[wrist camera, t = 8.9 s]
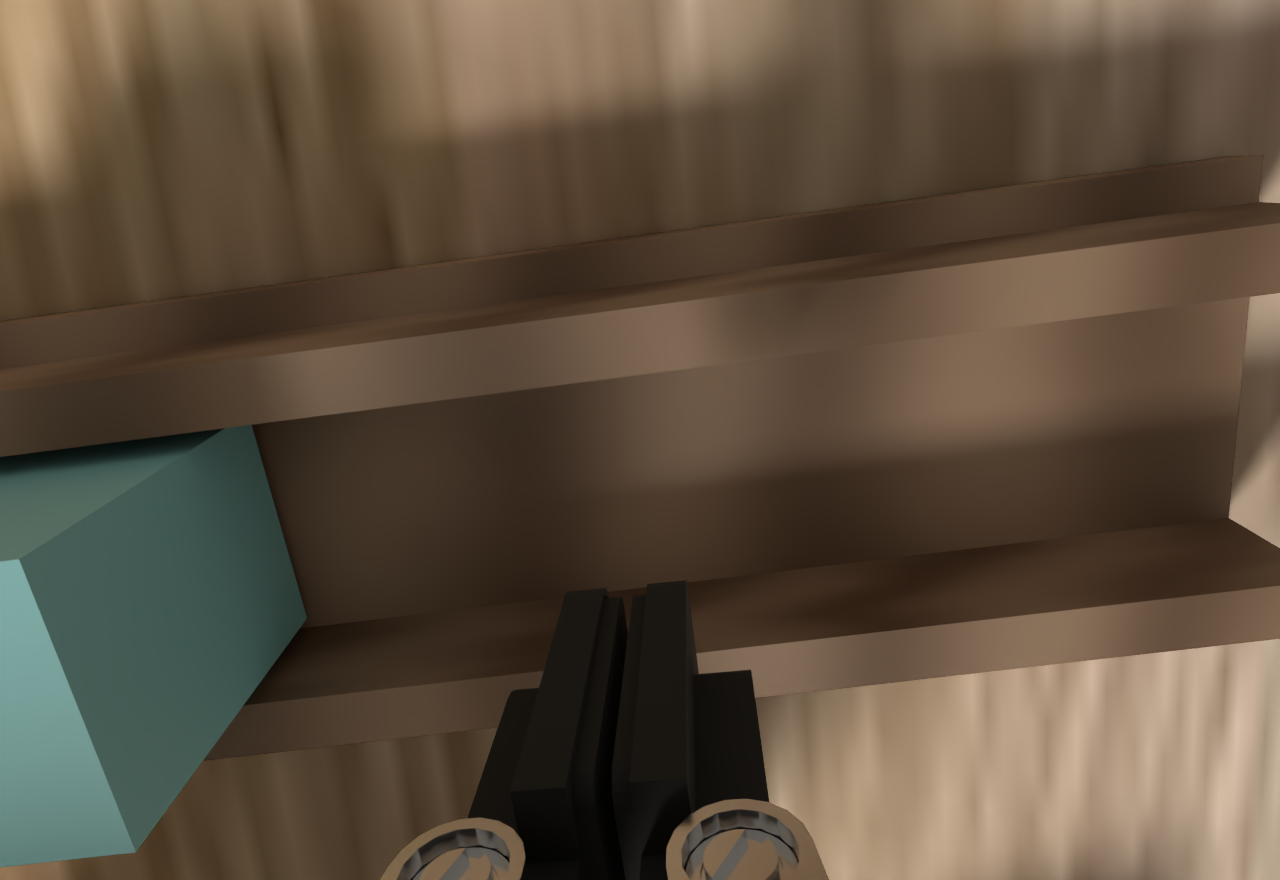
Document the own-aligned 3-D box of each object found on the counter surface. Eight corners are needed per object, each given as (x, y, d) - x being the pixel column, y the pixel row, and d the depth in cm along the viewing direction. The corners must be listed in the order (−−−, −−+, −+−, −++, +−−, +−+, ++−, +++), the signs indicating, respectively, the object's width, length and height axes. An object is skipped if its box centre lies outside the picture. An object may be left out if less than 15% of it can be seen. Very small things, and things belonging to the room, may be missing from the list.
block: (248, 413, 18) (19, 559, 11) (307, 618, 19) (135, 852, 13) (-22, 448, 18) (-402, 610, 12) (58, 648, 20) (-238, 893, 13)
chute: (1229, 156, 18) (1419, 152, 13) (1194, 579, 21) (1338, 687, 16) (-140, 340, 19) (-369, 391, 14) (20, 715, 22) (-130, 849, 18)
